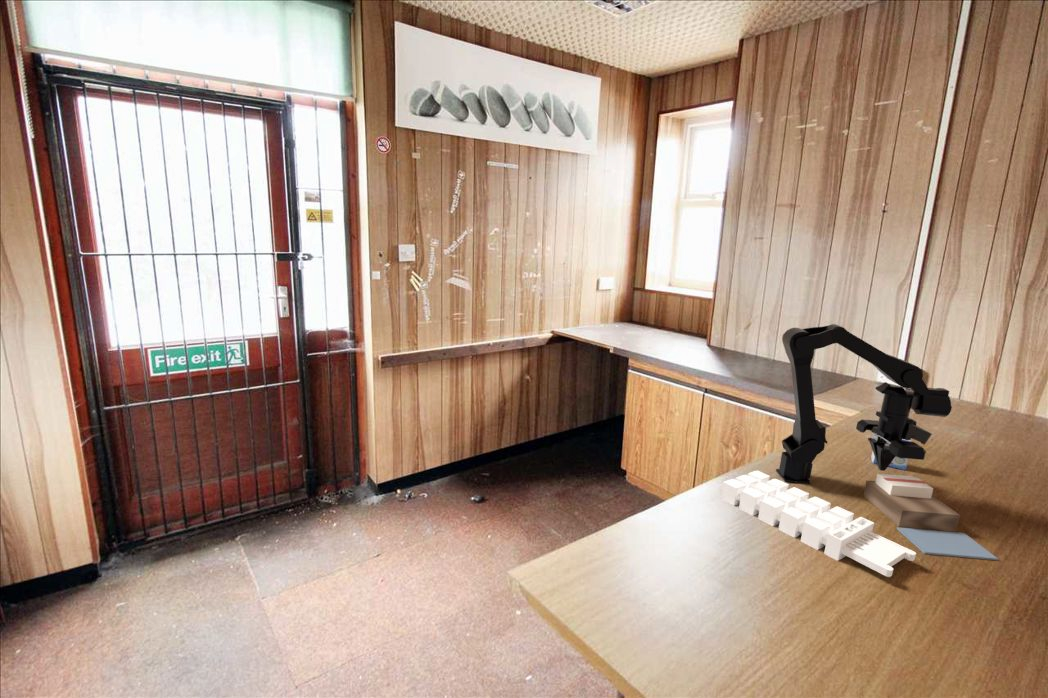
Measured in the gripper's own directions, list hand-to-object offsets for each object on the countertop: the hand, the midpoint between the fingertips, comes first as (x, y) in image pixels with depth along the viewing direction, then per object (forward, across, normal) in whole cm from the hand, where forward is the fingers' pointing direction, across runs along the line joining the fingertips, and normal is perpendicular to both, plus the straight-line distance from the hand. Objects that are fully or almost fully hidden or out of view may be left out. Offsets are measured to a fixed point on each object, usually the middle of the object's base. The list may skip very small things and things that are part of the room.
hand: (881, 470), depth 131 cm
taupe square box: (+5, -12, 0) cm, 13 cm away
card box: (+1, -8, 0) cm, 9 cm away
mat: (+5, -24, 0) cm, 25 cm away
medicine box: (+5, +16, -12) cm, 21 cm away
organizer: (+6, -22, +27) cm, 35 cm away
